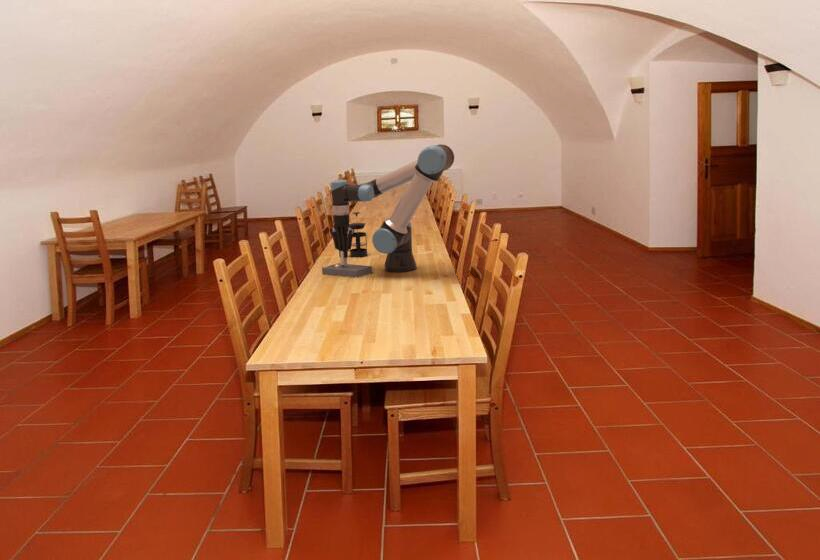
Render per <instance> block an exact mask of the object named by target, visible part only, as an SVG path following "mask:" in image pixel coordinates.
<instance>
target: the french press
mask: <svg viewBox="0 0 820 560" xmlns="http://www.w3.org/2000/svg"><path fill="white" fill-rule="evenodd" d="M354 214H355V218H356V221H358V214H361V212H358V211H357V212H352V215H354ZM349 225H350V228H351V229H352V230H353V229H354V230H356V231H354V233H353V238H355V242H352V245H351V247H356V248H351V249H349V250H348V252H349V257H350V258H353V257H360V258H366V257H368V256H369V255H368V243H367V240H368V239H365V242H361V238H363V237H367V232H365V231H364V232H363V231H359V230H363V229H364V228H365V226H366V222H365V223H364V222H353V223H352V222H351V223H349ZM363 246H364V247H363ZM365 246H366V247H365ZM362 247H363V248H362ZM365 256H366V257H365Z"/></svg>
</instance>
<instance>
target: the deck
mask: <svg viewBox="0 0 820 560" xmlns="http://www.w3.org/2000/svg"><path fill="white" fill-rule="evenodd" d="M336 264H340V265H341V262H339V263H338V262H337V263H334V264H331V265H327V266H324V267H322V268H321V274H322V275H326V274H328V275H329V276H336V275H340V276H339V277H345V276H350V277H349V278H355V277H357V278H360V277H362V276H366V275H369V274H372V273H373V268H372V267H373V266H371V265H362V264H352V263H351V264H349V263H347V264H346V265H341V266H342V267H334V265H336ZM328 275H327V276H328ZM359 276H360V277H359Z"/></svg>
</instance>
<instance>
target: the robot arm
mask: <svg viewBox="0 0 820 560" xmlns="http://www.w3.org/2000/svg"><path fill="white" fill-rule="evenodd" d="M454 162H455V153H454V152H453V149H452V148H451V147H450V146H448V145H446V144H436V145H435V144H431V145H428V146H426V147H424V148H423V149H422V150H421V151H420V152H419V154H418V157H417V160H415V161H412V162H410V163H408V164H406V165H403V166H401V167H399V168H397V169H395V170H393V171H391V172H388V173H386V174H384V175H382V176H379V177H378V178H374V179H372V180H371V181H368V182H365V183H360V184H349V183H348V180H346V179H337V180H332V181H331V183H330V184H331V189H330V191H331V192H330V193H331V202H332V203H331V204H332V213H333V215H332V221H333V226H332V228H330V229H329V231H330V234H331V237H332V240H333V245H334V248H335V250H338V253H339V258H340V263H341V265H346V264H348V257H349V256H348V255H349V254H348V253H349V251H348V250H350V249H352V246H351V245H352V243H353V238H354V237H353V233H354V232H356V231H355V230H356V229H351V228H350V225H349V224H350V221H351V219H350V214H349V213H350V205H349V202H363V203H365V202H371V201H372V200H373V199H375V198H378V197H379V196H380V195H383V194H385V193H387V192H391V191H392V190H394V189H397V188H399V187H401V186H403V185H405V184H408V186H406V189H405V191H404V192H403V194H402V196H401V197H400V199H399V201H398V203H397V204H396V207H394V209H393V210H392V211H393V212H392V213H391V215H390V217H386V218H385V219H384V221H383V222H382V223H381V225H380V227H379V228H378V229H377V230H375V231H374V233H373V235H372V238H371V241H372V242H371V243H372V244H373V245H372V246H373V247H374V248H375V250H376V251H377V252H379V253H380V254H384V255H385V254H387V255H386V257H385V263H384V266H383V267H384V270H385V271H386V272H392V273H393V272H395V273H399V272H400V273H403V272H404V273H405V272H410V271H414V270H416V269H417V263H416V260H415V257H414V254H413V244H412V243H413V241H412V239H413V238H412V223H411V220H412V219H413V217H414V215H415V214H416V212H417V210H418V208H419V206H420V205H421V203H422V201H423V200H424V198H425V197H426V195H427V193H428V192H429V189H430V188H431V186H432V184H433V183H436V182H438V181H439V180H440V178H441V176H442V174H443V173H444V172H445V171H447V170H449V169H450V168H451V167H452V166H453V164H454Z"/></svg>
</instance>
